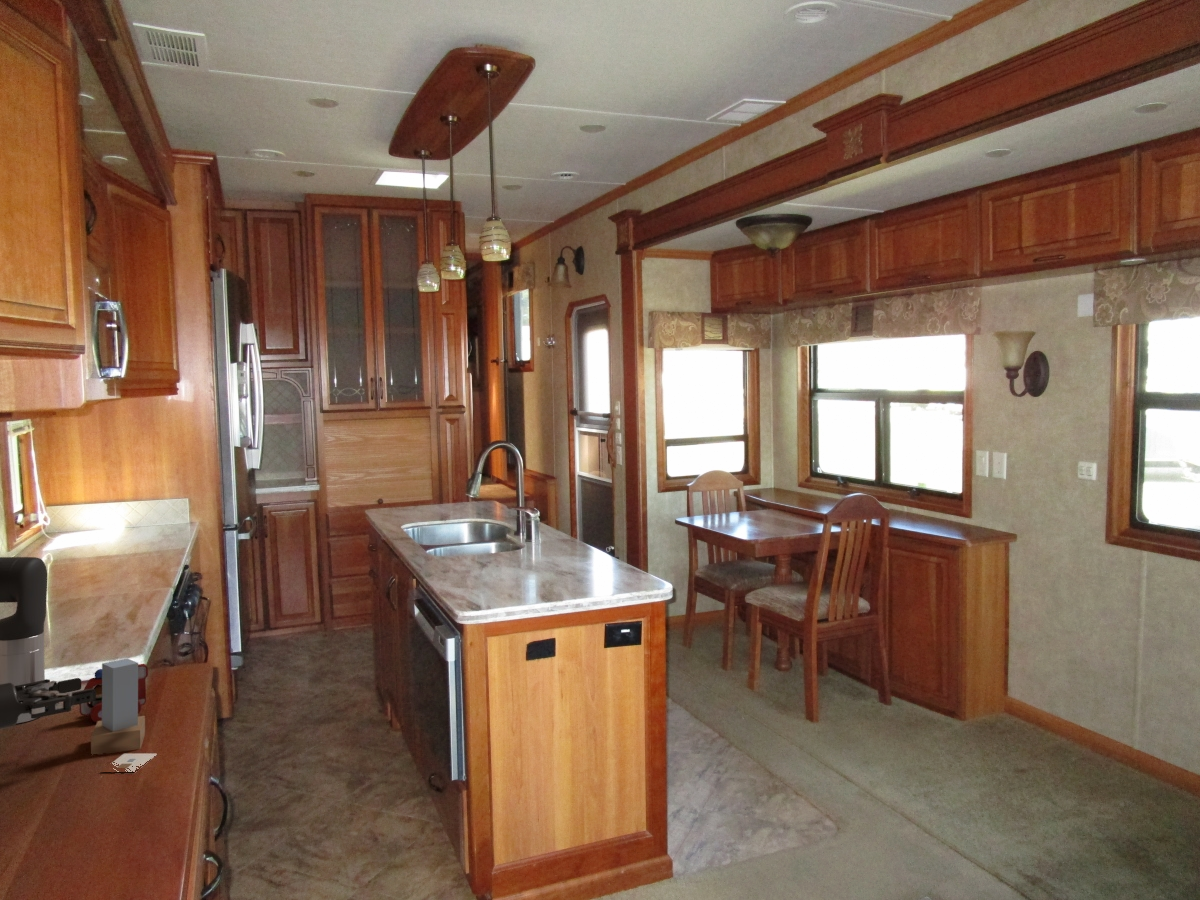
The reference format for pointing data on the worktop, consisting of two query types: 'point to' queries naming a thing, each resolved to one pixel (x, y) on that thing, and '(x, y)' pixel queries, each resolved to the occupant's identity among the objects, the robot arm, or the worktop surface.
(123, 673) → the pillar
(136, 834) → the worktop surface
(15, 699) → the robot arm
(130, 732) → the base block
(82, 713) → the toy fire truck
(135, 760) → the page
